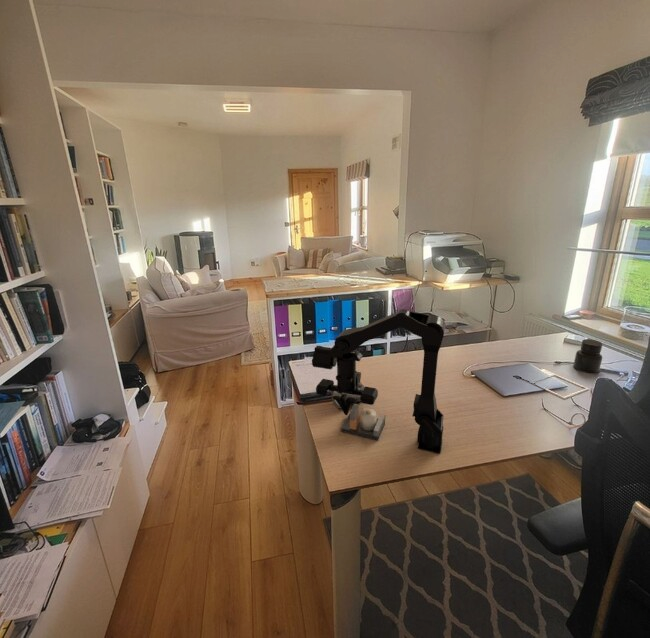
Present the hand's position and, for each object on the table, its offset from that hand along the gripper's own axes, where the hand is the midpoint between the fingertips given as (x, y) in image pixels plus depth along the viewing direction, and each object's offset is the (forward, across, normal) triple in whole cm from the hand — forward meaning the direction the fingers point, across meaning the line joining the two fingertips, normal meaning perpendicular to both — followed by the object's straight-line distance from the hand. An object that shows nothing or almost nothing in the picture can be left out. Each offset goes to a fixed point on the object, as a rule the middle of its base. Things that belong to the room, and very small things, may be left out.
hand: (346, 414), depth 112 cm
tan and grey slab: (+3, -3, -2) cm, 5 cm away
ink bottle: (+6, -81, -74) cm, 110 cm away
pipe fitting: (+5, +4, -14) cm, 15 cm away
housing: (+3, -7, -2) cm, 8 cm away
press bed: (+5, -5, -2) cm, 7 cm away
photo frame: (+6, -66, -55) cm, 86 cm away
